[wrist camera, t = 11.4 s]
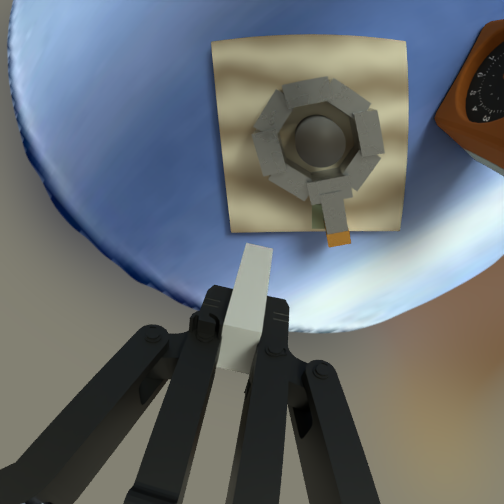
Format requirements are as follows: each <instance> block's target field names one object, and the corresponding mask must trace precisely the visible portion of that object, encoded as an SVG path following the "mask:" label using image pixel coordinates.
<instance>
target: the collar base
mask: <svg viewBox="0 0 504 504" xmlns="http://www.w3.org/2000/svg"><path fill="white" fill-rule="evenodd" d="M211 47H212V57H213V68H214V78H215V89H216V99H217V109H218V118H219V128H220V137H221V147H222V156H223V165H224V174H225V183H226V192H227V201H228V209H229V218H230V226H231V233H238V232H298V231H325V225H324V216H323V211H322V206H321V204H315V205H311V201H310V197H309V196H308V197H307V198H306V200H305V201H303V200H301V199H300V198H298V197H296V196H295V195H293V194H291V193H290V192H288V191H286V190H285V189H283V188H281V187H280V186H278V185H276V184H275V183H273V182H271V181H269V180H268V178H269V175H268V176H263V174H262V170H261V166H260V163H259V159H258V156H257V152H256V149H255V145H254V142H253V138H252V135H251V134H252V133H253V132H254V131H255V130H256V128H255V127H253V126H254V125H255V123H256V121H257V120H258V118H259V116H260V115H261V113H262V111H263V110H264V108H265V106H266V105H267V103H268V101H269V100H270V98H271V96H272V95H273V93H274V92H275V90H276V89H278V90H279V91H281V92H283V89H282V85H284V84H289V83H294V82H299V81H303V80H309V79H314V78H319V77H325V76H328V80H330V79H331V78H335V79H336V80H338V81H339V82H341V83H343V84H344V85H346V86H347V87H349V88H350V89H351V90H353V91H354V92H356V93H357V94H359V95H360V96H362V97H363V98H364V99H366V100H367V101H369V102H370V103H371V105H370V107H369V108H372V109H375V110H377V111H378V116H379V121H380V127H381V132H382V138H383V144H384V151H385V153H384V154H378V156H379V157H381V159H380V161H379V162H378V164H377V165H376V166H375V168H374V169H373V171H372V172H371V173H370V175H369V176H368V178H367V179H366V180H365V182H364V183H363V184H362V186H361V187H360V189H359V190H358V191H356V190H354V189H353V188H352V194H353V198H347V199H343V200H344V206H345V212H346V219H347V225H348V229H349V231H400V226H401V219H402V210H403V201H404V191H405V180H406V166H407V149H408V67H407V50H406V41H399V40H391V39H383V38H374V37H362V36H347V35H317V34H305V35H274V36H259V37H247V38H237V39H229V40H221V41H214V42H211ZM283 93H284V92H283ZM279 133H280V137H281V140H282V144H283V148H284V152H285V156H286V158H288V159H289V160H291V161H293V162H294V163H296V164H297V165H299V166H301V167H302V168H304V169H306V170H307V171H309V172H310V173H311V172H316V171H322V170H327V169H332V168H337V167H339V166H340V164H341V163H342V162H343V160H344V159H345V157H346V156H347V154H348V153H349V151H350V150H351V149H352V147H353V146H354V140H353V135H352V130H351V125H350V120H349V116H347V115H346V114H345V113H343V112H342V111H340V110H339V109H337V108H336V107H334V106H332V105H331V104H329V103H328V102H326V101H325V102H319V103H314V104H309V105H304V106H299V107H294V108H293V110H292V112H291V113H290V115H289V116H288V118H287V119H286V121H285V123H284V124H283V126H282V127H281V129H280V131H279Z"/></svg>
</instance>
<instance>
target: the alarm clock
mask: <svg viewBox="0 0 504 504" xmlns="http://www.w3.org/2000/svg"><path fill="white" fill-rule="evenodd" d="M434 119H435V121H436V123H437V125H438V126H439V127H440V128H441V129H442V130H443V131H444V132H446V133H447V134H448V135H449V136H450V137H451V138H452V139H453V140H454V141H456V142H457V143H458V144H459V145H460V146H461V147H462V148H463V149H464V150H465V151H466V152H467V153H468V154H469V155H470V156H471V157H472V158H473V159H474V160H476V161H478V162H480V163H482V164H483V165H485V166H487V167H489V168H490V169H492V170H494V171H496V172H497V173H499V174H501V175H502V176H504V19H502V20H496V21H491V22H489V23H487V24H486V25H485V26H484V27H483V29H482V31H481V33H480V35H479V37H478V39H477V41H476V43H475V45H474V46H473V48H472V50H471V52H470V54H469V56H468V58H467V60H466V61H465V63H464V65H463V67H462V69H461V71H460V72H459V74H458V76H457V78H456V80H455V81H454V83H453V85H452V87H451V88H450V90H449V92H448V93H447V95H446V97H445V99H444V100H443V102H442V104H441V105H440V107H439V109H438V110H437V112H436V115H435V118H434Z"/></svg>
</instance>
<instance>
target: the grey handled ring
mask: <svg viewBox="0 0 504 504" xmlns="http://www.w3.org/2000/svg"><path fill="white" fill-rule="evenodd" d="M282 89H283V92H284V93H283V92H281V91H279V90H278V89H276V90H275V92H274V93H273V95H272V96H271V98H270V100H269V101H268V103H267V105H266V106H265V108H264V110H263V111H262V113H261V115H260V116H259V118H258V120H257V121H256V123H255V125H254V126H253V127H255V128H256V130H255V131H254V132H253V133H252V134H251V135H252V138H253V142H254V145H255V149H256V152H257V156H258V159H259V163H260V166H261V170H262V174H263V176H268V175H269V178H268V180H269V181H271V182H273V183H275V184H276V185H278V186H280V187H281V188H283V189H285V190H286V191H288V192H290V193H291V194H293V195H295V196H296V197H298V198H300V199H301V200H303V201H305V200H306V198H307V197H308V196H309V197H310V201H311V205H315V204H321V206H322V211H323V216H324V225H325V231H326V236H327V241H328V246H329V247H334V246H340V245H345V244H351V239H350V232H349V229H348V225H347V219H346V212H345V206H344V200H343V199H347V198H353V194H352V188H353V189H354V190H356V191H358V190H359V189H360V187H361V186H362V184H363V183H364V182H365V180H366V179H367V178H368V176H369V175H370V173H371V172H372V171H373V169H374V168H375V166H376V165H377V164H378V162H379V161H380V159H381V157H379V156H378V154H384V153H385V151H384V144H383V138H382V132H381V127H380V121H379V116H378V111H377V110H375V109H372V108H369V107H370V105H371V103H370V102H369V101H367V100H366V99H364V98H363V97H362V96H360V95H359V94H357V93H356V92H354V91H353V90H351V89H350V88H349V87H347V86H346V85H344V84H343V83H341V82H339V81H338V80H336V79H335V78H331V79H330V80H328V76H325V77H319V78H314V79H309V80H303V81H299V82H294V83H289V84H284V85H282ZM325 101H326V102H328V103H329V104H331V105H332V106H334V107H336V108H337V109H339V110H340V111H342V112H343V113H345V114H346V115H347V116H349V120H350V125H351V130H352V135H353V140H354V146H353V147H352V149H351V150H350V151H349V153H348V154H347V156H346V157H345V159H344V160H343V162H342V163H341V164H340V166H339V167H337V168H332V169H327V170H322V171H316V172H311V173H310V172H309V171H307V170H306V169H304V168H302V167H301V166H299V165H297V164H296V163H294V162H293V161H291V160H289V159H288V158H286V156H285V152H284V148H283V144H282V140H281V137H280V133H279V131H280V129H281V127H282V126H283V124H284V123H285V121H286V119H287V118H288V116H289V115H290V113H291V112H292V110H293V108H294V107H299V106H304V105H309V104H314V103H319V102H325Z"/></svg>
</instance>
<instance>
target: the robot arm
mask: <svg viewBox="0 0 504 504" xmlns="http://www.w3.org/2000/svg"><path fill="white" fill-rule="evenodd" d="M272 253H273V249H272V248H267V247H262V246H258V245H253V244H249V243H246V246H245V250H244V253H243V257H242V260H241V264H240V267H239V271H238V274H237V278H236V281H235V285H234V288H233V289H231V288H226V287H222V286H218V285H213V286H212V287H211V288H210V289H209V290H208V291H207V293H206V296H205V299H204V301H203V304H202V306H201V309H200V311H197V312H195V313H193V314H192V316H191V317H190V324H189V331H187V332H184V333H179V334H168V332H167V330H166V329H164V328H163V327H162V326H159V325H146V326H143V327H142V328H140V329H139V330H138V331H137V332H136V333H135V334H134V335H133V336H132V337H131V338H130V339H129V340H128V342H127V343H126V344H125V345H124V346H123V347H122V348H121V349H120V350H119V351H118V352H117V353H116V354H115V355H114V356H113V357H112V358H111V359H110V360H109V361H108V362H107V363H106V365H105V366H104V367H103V368H102V369H101V370H100V371H99V372H98V373H97V374H96V375H95V376H94V377H93V378H92V379H91V380H90V381H89V382H88V384H87V385H86V386H85V387H84V388H83V389H82V390H81V391H80V392H79V393H78V394H77V395H76V396H75V397H74V399H73V400H72V401H71V402H70V403H69V404H68V405H67V406H66V407H65V408H64V409H63V410H62V412H61V413H60V414H59V415H58V416H57V417H56V418H55V419H54V420H53V421H52V423H50V425H49V426H48V427H47V428H46V429H45V430H44V431H43V432H42V433H41V435H40V436H39V437H38V438H37V439H36V440H35V441H34V442H33V443H32V445H31V446H30V447H29V448H28V449H27V450H26V451H25V452H24V454H23V455H22V456H21V457H20V458H19V459H18V461H16V463H13V464H11V465H9V466H7V467H5V468H3V469H1V470H0V504H73V503H74V502H75V501H76V500H77V499H78V497H79V496H80V495H81V493H82V492H83V491H84V490H85V488H86V487H87V486H88V485H89V483H90V482H91V481H92V479H93V478H94V477H95V475H96V474H97V473H98V472H99V470H100V469H101V468H102V466H103V465H104V464H105V462H106V461H107V460H108V458H109V457H110V456H111V455H112V453H113V452H114V451H115V449H116V448H117V447H118V445H119V444H120V443H121V441H122V440H123V439H124V437H125V436H126V435H127V434H128V432H129V431H130V430H131V428H132V427H133V426H134V424H135V423H136V422H137V420H138V419H139V418H140V416H141V415H142V414H143V412H144V411H145V410H146V408H147V407H148V406H149V405H150V403H151V402H152V400H153V399H154V398H155V397H156V395H157V394H158V393H159V391H160V390H161V389H162V387H163V386H164V385H165V383H166V382H167V381H168V379H171V381H170V384H169V387H168V390H167V392H166V395H165V398H164V400H163V403H162V406H161V408H160V411H159V414H158V417H157V420H156V422H155V425H154V428H153V431H152V434H151V437H150V439H149V443H148V445H147V448H146V451H145V454H144V457H143V460H142V463H141V466H140V469H139V472H138V474H137V478H136V480H135V483H134V485H133V487H132V488H131V489H130V490H129V491H128V493H127V495H126V498H125V500H124V504H182V502H183V498H184V494H185V490H186V486H187V482H188V478H189V474H190V470H191V466H192V462H193V458H194V454H195V451H196V446H197V443H198V439H199V435H200V430H201V426H202V423H203V419H204V415H205V411H206V407H207V403H208V399H209V395H210V392H211V388H212V384H213V380H214V376H215V369H216V367H219V368H223V369H227V370H232V371H237V372H241V373H246V374H250V375H249V379H248V383H247V386H246V389H245V392H244V393H245V399H244V404H243V410H242V416H241V421H240V427H239V433H238V438H237V444H236V449H235V455H234V461H233V466H232V471H231V476H230V482H229V487H228V493H227V498H226V503H225V504H279V496H280V486H281V476H282V464H283V453H284V441H285V427H286V414H287V404H288V408H289V412H290V417H291V422H292V426H293V431H294V435H295V440H296V444H297V449H298V454H299V458H300V462H301V467H302V472H303V476H304V481H305V485H306V490H307V494H308V499H309V503H310V504H380V501H379V497H378V494H377V491H376V488H375V485H374V481H373V478H372V475H371V472H370V469H369V466H368V463H367V460H366V457H365V454H364V451H363V448H362V445H361V442H360V439H359V436H358V433H357V430H356V427H355V424H354V421H353V418H352V415H351V412H350V409H349V406H348V404H347V401H346V398H345V395H344V392H343V390H342V387H341V384H340V381H339V379H338V376H337V373H336V371H335V369H334V367H333V366H332V365H331V364H329V363H328V362H325V361H323V360H313V361H311V362H310V363H306V362H303V361H301V360H299V359H298V358H296V357H295V356H294V355H292V353H291V352H290V351H289V348H288V327H289V323H288V322H289V306H288V304H287V302H286V300H284V299H280V298H275V297H270V296H267V292H268V284H269V276H270V269H271V261H272Z"/></svg>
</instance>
